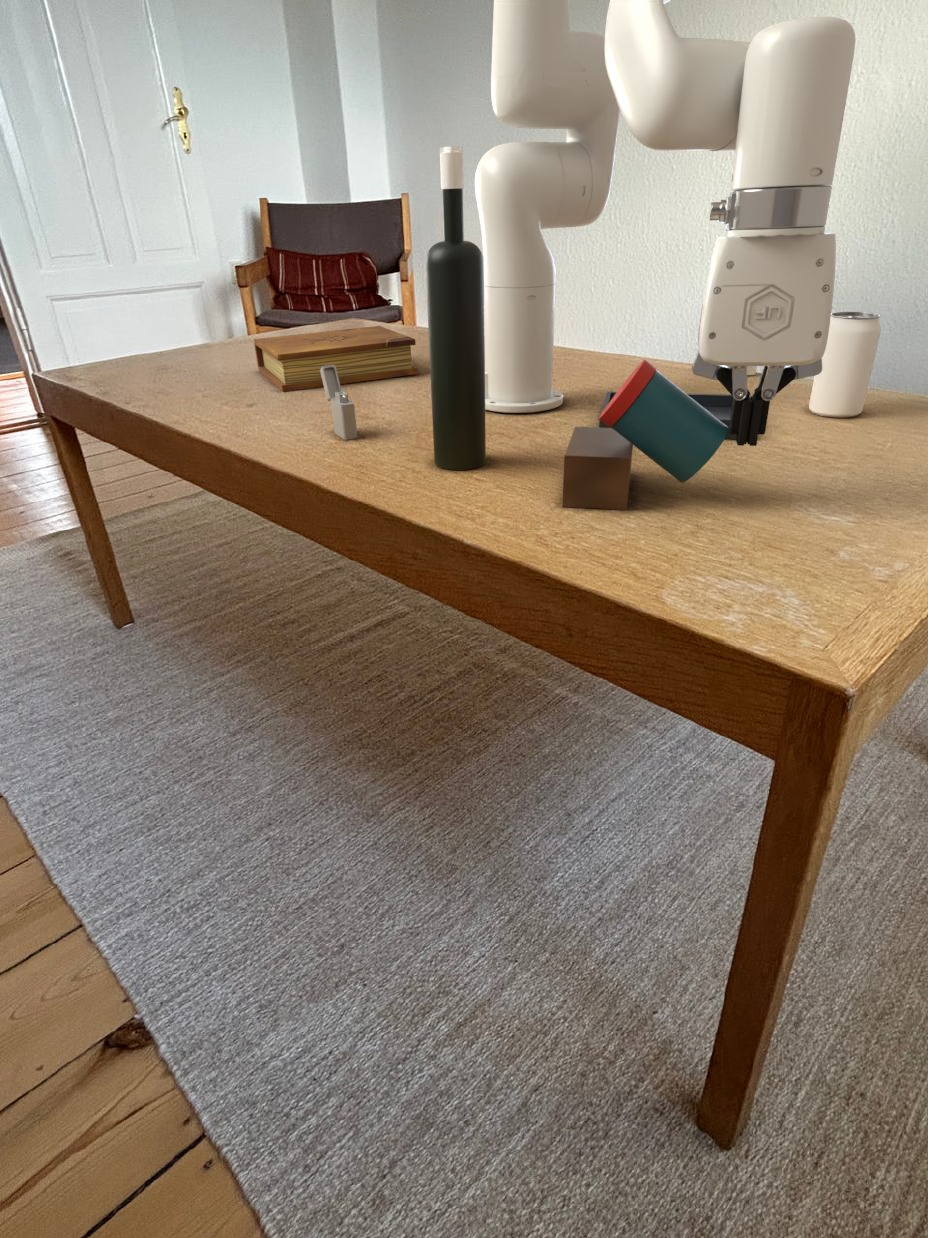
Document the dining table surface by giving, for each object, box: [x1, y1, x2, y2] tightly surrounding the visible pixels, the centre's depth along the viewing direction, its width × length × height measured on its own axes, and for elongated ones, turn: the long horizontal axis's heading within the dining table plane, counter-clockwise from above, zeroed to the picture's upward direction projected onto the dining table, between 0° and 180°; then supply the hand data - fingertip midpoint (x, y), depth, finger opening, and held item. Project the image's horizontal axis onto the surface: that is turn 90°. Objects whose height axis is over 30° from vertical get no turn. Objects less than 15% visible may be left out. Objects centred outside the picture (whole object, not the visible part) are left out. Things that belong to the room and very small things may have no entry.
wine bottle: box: [424, 145, 487, 471], centre depth 77 cm, size 6×6×30 cm
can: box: [808, 311, 882, 419], centre depth 96 cm, size 6×6×12 cm
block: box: [561, 426, 634, 511], centre depth 74 cm, size 6×10×5 cm, turn 167°
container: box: [598, 359, 729, 483], centre depth 70 cm, size 12×7×12 cm, turn 73°
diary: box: [253, 325, 419, 392], centre depth 129 cm, size 23×19×6 cm
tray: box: [598, 391, 736, 440], centre depth 96 cm, size 17×13×2 cm
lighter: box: [320, 365, 359, 441], centre depth 94 cm, size 7×2×8 cm, turn 28°
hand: (745, 441), depth 69 cm, fingers closed
